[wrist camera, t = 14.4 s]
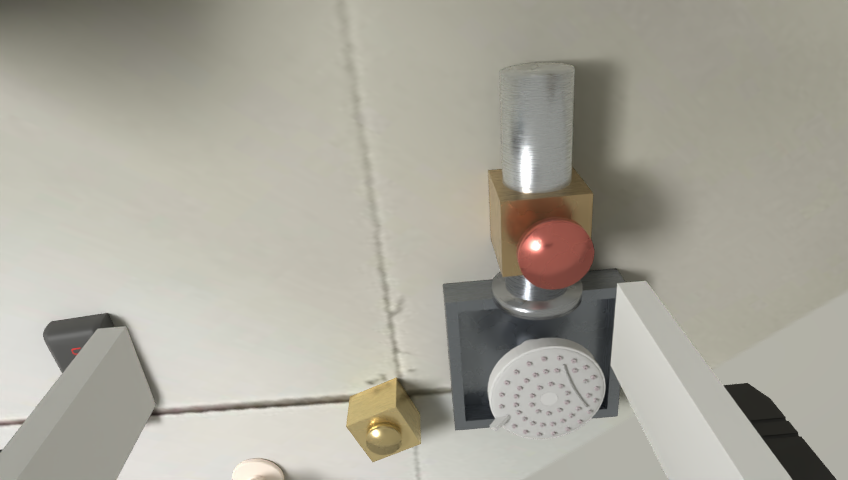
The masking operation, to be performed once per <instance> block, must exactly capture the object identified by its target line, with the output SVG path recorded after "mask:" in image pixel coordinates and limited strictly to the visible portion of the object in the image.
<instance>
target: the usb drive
mask: <svg viewBox="0 0 848 480" xmlns="http://www.w3.org/2000/svg"><path fill="white" fill-rule="evenodd" d="M111 327H114V325H113V323H112V320H111V318H110V316H109V315H108V313H104V314H97V315H91V316H84V317H78V318H71V319H65V320H58V321H52V322H50V323H49V324H48V326H47V327H46V328H45V330H44V332H43V337H44V340H45V342H46V344H47V346H48V348H49V350H50V352H51V354H52V355H53V357H54V359H55V361H56V363H57V364H58V366H59V368H60V370H61V372H62V373H63V372H64V371H65V370H66V368H67V367H68V366H69V364H70V363H71V362H72V361H73V359H74V358H75V357H76V355H77V354H78V353H79V352H80V350H81V349H82V348H83V347H84V345H85V344H86V343H87V341H88V340H89V339H90V338H91V336H92V335H93V334H94V333H95V331H96V330H97V329H100V328H111Z"/></svg>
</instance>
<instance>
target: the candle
mask: <svg viewBox="0 0 848 480" xmlns="http://www.w3.org/2000/svg"><path fill="white" fill-rule="evenodd" d="M232 480H284V474H283V472H282V470H281V469H280V468H279V467H278V466H277V465H276V464H274V463H273V462H270V461H268V460H264V459H249V460H246V461H243V462H241V463H240V464H238V465H237V466H236V468H235V469H234V472H233V475H232Z"/></svg>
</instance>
